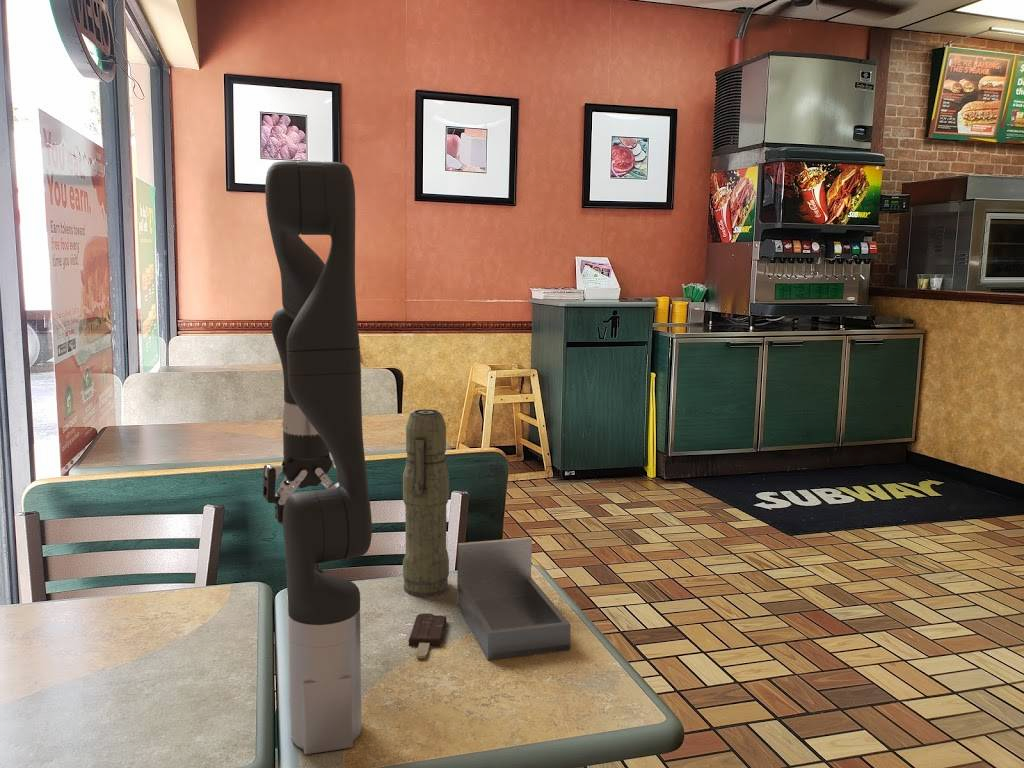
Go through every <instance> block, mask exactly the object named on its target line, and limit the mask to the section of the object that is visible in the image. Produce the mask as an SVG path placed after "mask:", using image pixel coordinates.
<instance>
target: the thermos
mask: <svg viewBox="0 0 1024 768" xmlns="http://www.w3.org/2000/svg"><path fill="white" fill-rule="evenodd" d="M446 451H447V425H446V422H445V418H444V416H443V413H442V412H440V411H438V410H435V409H427V408H426V409H416V410H414V411H413V412H410V413H409V415H408V420H407V421H406V426H405V452H406V459H405V466H404V471H403V473H402V500H403V503H404V506H405V509H404V511H405V521H404V522H405V553H404V557H403V560H402V576H403V590H404V592H405V593H407V594H409V595H411V596H416V597H434V596H438V595H441V594H444V593H445V592H446V591H447V590H448V589H449V580H448V578H449V575H450V559H449V552H448V549H447V504H448V502H449V500H450V472H449V469H448V466H447V459H446Z"/></svg>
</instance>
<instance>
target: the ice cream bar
mask: <svg viewBox="0 0 1024 768" xmlns="http://www.w3.org/2000/svg"><path fill="white" fill-rule="evenodd" d="M446 625H447V616H446V615H438V614H437V615H436V614H433V613H430V612H429V613H419V614H417V615H416V616H415V620H414V623H413V626H412V629H411V633H410V635H409V638H408V646H409V647H417V650H416V655H415V657H416V658H417V659H419V660H420V659H421V660H422V659H425V658H427V657H428V653H429V651H430V648H431V647H432V648H437V647H439V648H441V646H442V643H443V637H444V633H445V629H446Z"/></svg>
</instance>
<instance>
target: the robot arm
mask: <svg viewBox="0 0 1024 768" xmlns="http://www.w3.org/2000/svg"><path fill="white" fill-rule="evenodd" d="M353 177H354V176H353V174H352V170H351V169H350V167H349V166H348V165H347V164H346V163H344V162H337V161H314V160H311V161H310V160H307V161H306V160H280V161H275V162H273V163H272V164H271V165H270V166H268V169H267V172H266V177H265V185H264V186H265V188H264V192H265V205H266V206H265V208H266V215H267V221H268V226H269V231H270V235H271V241H272V245H273V248H274V253H275V256H276V261H277V263H278V267H279V271H280V280H281V281H280V283H281V284H280V285H281V286H280V287H281V304H282V307H280V308H278V309H277V310H276V311H275V312H274V314H273V316H272V318H271V324H270V325H271V333H272V337H273V341H274V344H275V346H276V349H277V351H278V355H279V360H280V363H281V367H282V374H283V375H282V377H283V400H284V402H283V409H282V422H281V425H282V426H281V427H282V432H283V433H282V443H283V444H282V446H283V448H282V449H283V450H282V451H283V460H282V463H281V464H277V465H271V464H270V463H266V464H265V465H264V466H263V482H262V483H263V484H262V498H263V499H264V500H265V501H266V502H267V503H269V504H274V518H275V521H276V522H278V524H280V525H281V526H282V529H283V541H284V552H285V567H286V589H287V590H286V591H287V592H286V593H287V617H288V620H287V621H288V622H287V623H288V628H287V630H288V668H289V669H288V671H289V710H290V738H291V741H292V743H293V744H294V745H295V746H296V747H298V748H300V749H302V750H303V754H304V755H310V754H316V753H323V752H329V751H332V752H333V751H338V750H343V749H351V748H353V747H354V742H355V741H356V740H357V739H358V738H359V737H360V735H361V732H362V726H363V725H362V724H363V723H362V719H363V718H362V665H361V664H362V663H361V662H362V661H361V659H362V657H361V652H362V651H361V649H362V648H361V592H360V588H359V587H358V586H357V584H356V583H355V582H353V581H351V580H350V579H346V578H343V577H339V576H336V575H335V576H334V575H329V574H325V573H322V572H319V571H318V570H315V567H316V564H322V563H328V562H335V561H336V562H337V561H341V560H346V559H348V560H349V559H354V558H358V557H361V556H364V555H366V554H367V552H368V551H369V549H370V546H371V544H372V543H371V542H372V537H373V536H372V535H373V534H372V533H373V531H372V530H373V526H372V525H373V524H372V521H373V520H372V510H371V499H370V490H369V481H368V475H367V466H366V457H365V448H364V438H363V437H364V435H363V412H362V411H363V410H362V408H363V407H362V406H363V405H362V366H361V365H362V364H361V363H362V362H361V347H360V337H359V323H358V310H357V296H356V188H355V182H354V178H353ZM301 236H330V239H331V242H330V247H329V252H328V256H327V258H326V261H325V262H324V260H322V258H321V257H320V256H319V255H318V253H316V252H315V250H313V249H312V248H311V246H309V245H308V244H307V243H306V242H305V240H303V239H302V238H301ZM332 467H334V468H335V470H336V476H337V477H336V478H337V479H336V480H337V481H336V483H334V482H333V480H331V478H330V477H329V476H328V475H327V474H328V473H329V472H330V470H331V468H332ZM281 473H283V475H285V477H284V478H283V480H281V482H280V485H279V488H278V490H277V491H276V480H277V479H278V478H279V477H280V474H281ZM320 484H322V485H323V486H324V488H325V489H318V490H317V489H316V490H310V491H309V490H308V491H301V492H300V491H299V492H295V491H296V490H297V488H299V489H305V488H308V487H318V486H319V485H320Z"/></svg>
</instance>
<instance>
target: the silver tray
mask: <svg viewBox="0 0 1024 768" xmlns="http://www.w3.org/2000/svg"><path fill="white" fill-rule="evenodd" d="M532 548H533V540H532V538H531V536H530V537H528V536H527V537H518V538H507V539H506V538H504V539H495V540H494V539H493V540H482V541H470V542H469V541H468V542H460V543H459V542H458V543H457V567H456V568H457V574H456V577H457V580H456V581H457V586H456V587H457V589H456V590H457V591H456V593H457V594H456V599H457V600H456V601H457V602H456V605H457V608H458V609H459V611H460V613H461V615H462V617H463V619H464V620H465V623H467V624H466V625H467V626H468V628H469V629H470V631H471V634H472V635H473V637H474V638H475V640H476V642H477V645H479V648H480V650H481V652H482V653H483V655H484V656H485V658H486V661H495V660H502V659H503V660H504V659H510V658H517V657H525V656H527V657H528V656H533V655H540V654H541V655H542V654H548V653H557V652H558V653H559V652H565V651H571V627H572V626H571V623H570V621H569V620H568V619H567V618H566V617H565V616H564V614H563V613H562V612H561V611H560V609H558V607H557V606H556V605H555V604H554V603H553V602H552V600H551V599H550V598H549V596H547V594H546V593H545V592H544V591H543V590H542V588H541V587H540V586H539V585H538V584H537V583H536V581H535V580H534V579H533V578H532V555H533V554H532V550H533V549H532Z"/></svg>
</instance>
